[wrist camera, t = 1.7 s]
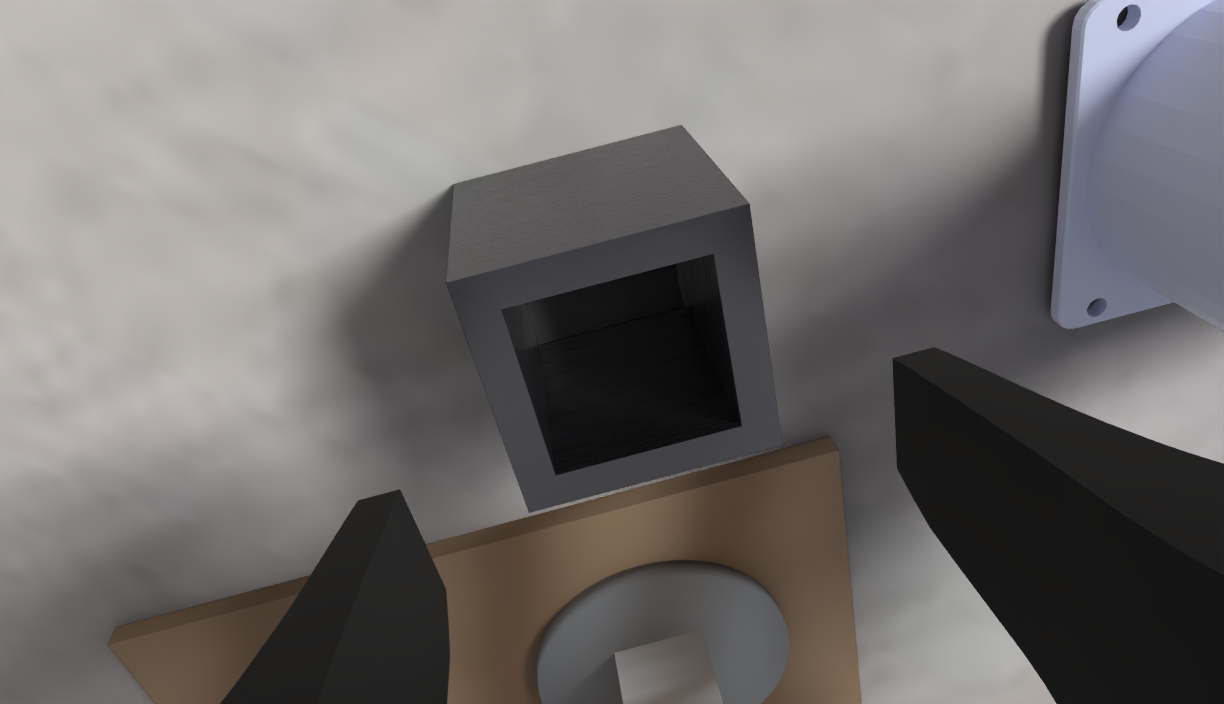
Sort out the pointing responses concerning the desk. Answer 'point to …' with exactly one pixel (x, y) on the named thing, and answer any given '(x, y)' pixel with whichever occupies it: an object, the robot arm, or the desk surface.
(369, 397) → the desk surface
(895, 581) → the desk surface
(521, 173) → the socket sleeve
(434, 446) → the desk surface
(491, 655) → the wooden board
